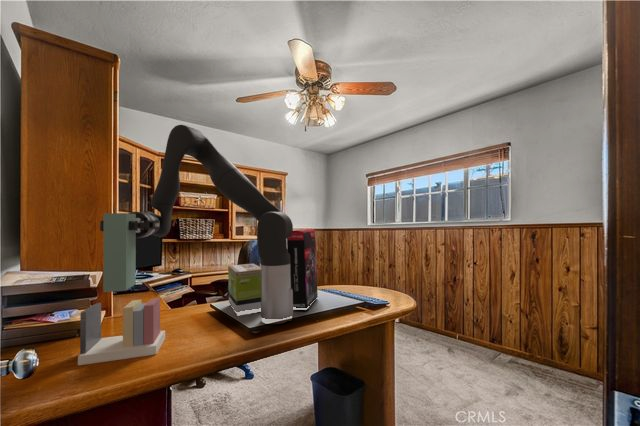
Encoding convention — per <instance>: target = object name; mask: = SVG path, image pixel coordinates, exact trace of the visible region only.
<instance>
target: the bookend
mask: <svg viewBox="0 0 640 426" xmlns="http://www.w3.org/2000/svg"><path fill="white" fill-rule="evenodd" d="M79 314H80V319H79V320H80V323H79V324H80V328H79V329H80V331H79V333H80V335H79V336H80V337H79V339H80V340H79V341H80V343H79V345H80V347H79V350H80V353H79V355H80V354H85V353H87V352H88V351H89V350H90V349H91V348H92V347H93V346H94V345H95V344H97V343H98V342H99V341H100V340H101V338H102V302H96V303H94V304H92V305H91V306H89V307H87V308H85V309H83V310H82V311H81V312H80V313H79Z"/></svg>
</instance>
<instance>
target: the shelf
mask: <svg viewBox="0 0 640 426" xmlns="http://www.w3.org/2000/svg"><path fill="white" fill-rule="evenodd" d="M142 301H143V299H133V300H131V301H129V303H127V304H126V305H124V307H123V308H122V335H116V336H115V335H114V336H108V337H101V340H100V341H99V342H98V343H97V344H95V345H94V346H93V347H92V348H91V349H90V350H89V351H88V352H87V353H85V354H80V353H79V355H77V366H82V365H91V364H98V363H105V362H113V361H118V360H126V359H131V358H133V359H134V358H140V357H148V356H153V355H154V356H155V355H157V354H158V352H159V350H160V348H161V347H162V345H163V343H164V341H165V340H166V330H161V297H155V298H154V297H153V298H150V299H149V300H148V301H147V302H142Z"/></svg>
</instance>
